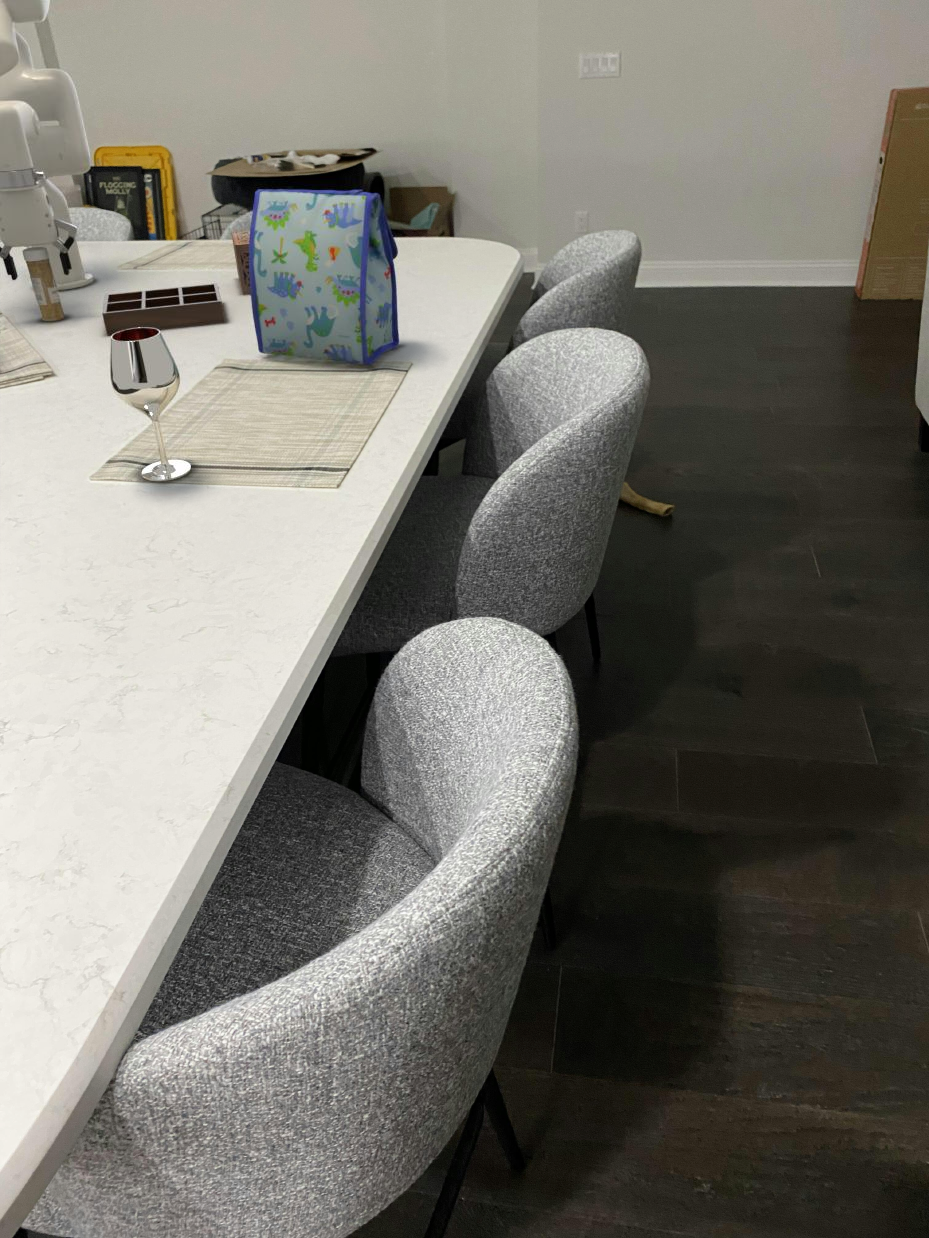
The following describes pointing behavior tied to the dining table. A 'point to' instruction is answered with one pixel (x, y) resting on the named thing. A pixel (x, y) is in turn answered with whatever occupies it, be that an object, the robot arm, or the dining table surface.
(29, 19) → the robot arm
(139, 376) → the wineglass
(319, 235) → the lunch bag
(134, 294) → the tray
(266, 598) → the dining table surface
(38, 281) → the sprinkles bottle
